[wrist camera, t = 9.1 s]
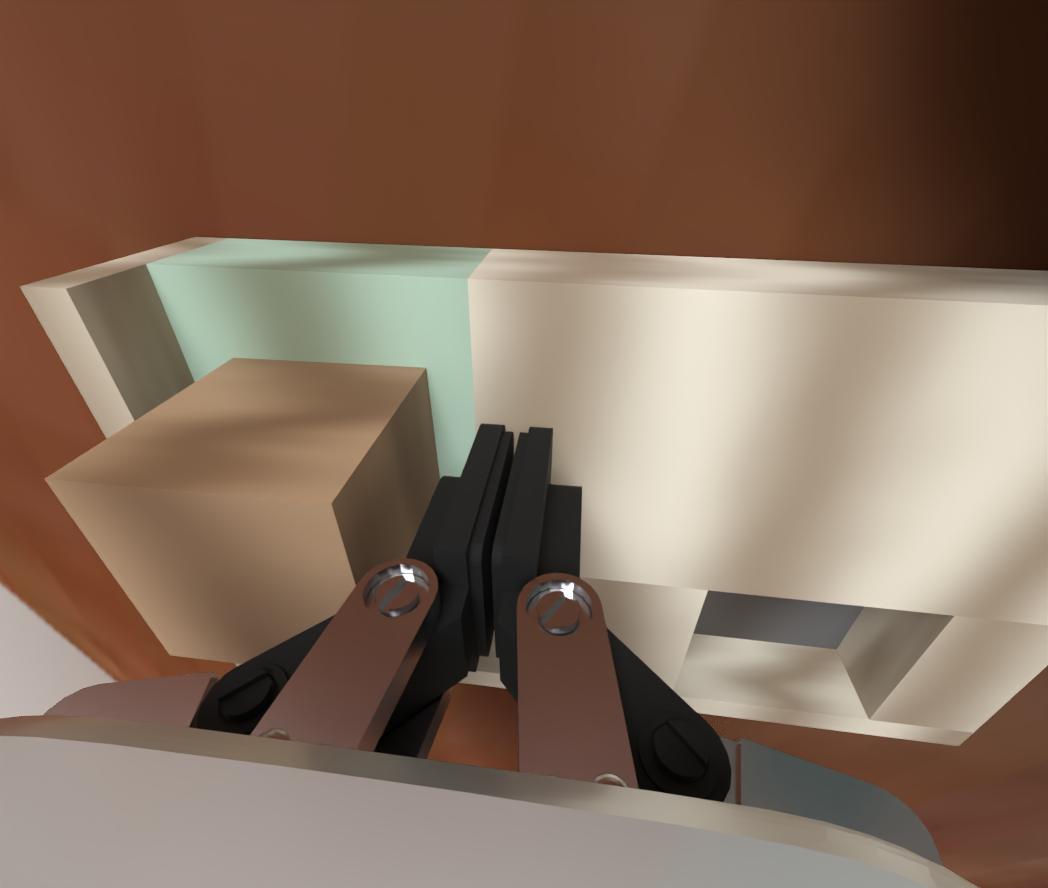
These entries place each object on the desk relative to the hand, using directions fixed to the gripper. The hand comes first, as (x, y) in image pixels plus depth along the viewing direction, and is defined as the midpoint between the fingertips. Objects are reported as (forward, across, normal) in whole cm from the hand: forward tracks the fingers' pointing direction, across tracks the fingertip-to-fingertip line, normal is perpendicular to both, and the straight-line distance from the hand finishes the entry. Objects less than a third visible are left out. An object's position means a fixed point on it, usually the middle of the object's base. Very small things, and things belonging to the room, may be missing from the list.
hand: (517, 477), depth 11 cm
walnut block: (+1, +5, 0) cm, 5 cm away
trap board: (+4, -4, +4) cm, 7 cm away
